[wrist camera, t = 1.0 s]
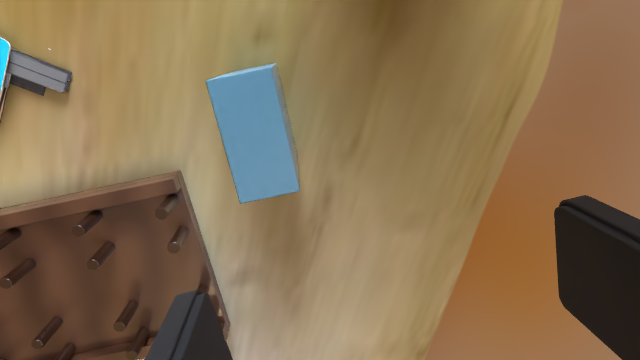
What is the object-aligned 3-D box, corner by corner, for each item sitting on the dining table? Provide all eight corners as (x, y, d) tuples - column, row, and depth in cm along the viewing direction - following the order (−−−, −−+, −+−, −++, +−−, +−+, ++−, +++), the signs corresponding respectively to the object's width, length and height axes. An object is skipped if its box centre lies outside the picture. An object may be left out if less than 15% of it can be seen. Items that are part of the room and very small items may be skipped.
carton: (227, 73, 32) (205, 80, 24) (276, 62, 32) (271, 66, 24) (252, 166, 35) (240, 204, 26) (297, 157, 35) (300, 191, 26)
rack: (9, 371, 39) (-25, 409, 35) (-73, 224, 34) (-123, 248, 30) (230, 323, 39) (223, 356, 35) (180, 170, 34) (165, 186, 30)
